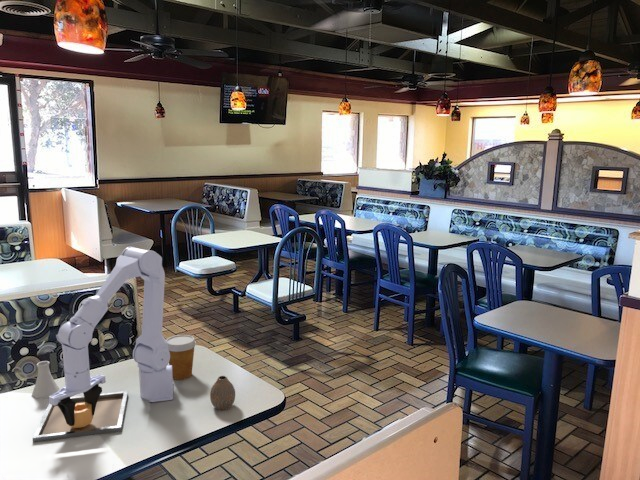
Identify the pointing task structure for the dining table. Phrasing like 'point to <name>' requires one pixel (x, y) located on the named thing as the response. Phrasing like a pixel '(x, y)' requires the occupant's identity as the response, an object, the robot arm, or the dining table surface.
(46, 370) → the flask
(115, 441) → the dining table surface
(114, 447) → the dining table surface
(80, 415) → the gear
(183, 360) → the disposable coffee cup
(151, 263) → the robot arm
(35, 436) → the square tray
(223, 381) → the vase
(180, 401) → the dining table surface
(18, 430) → the dining table surface
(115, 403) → the carrier plate
